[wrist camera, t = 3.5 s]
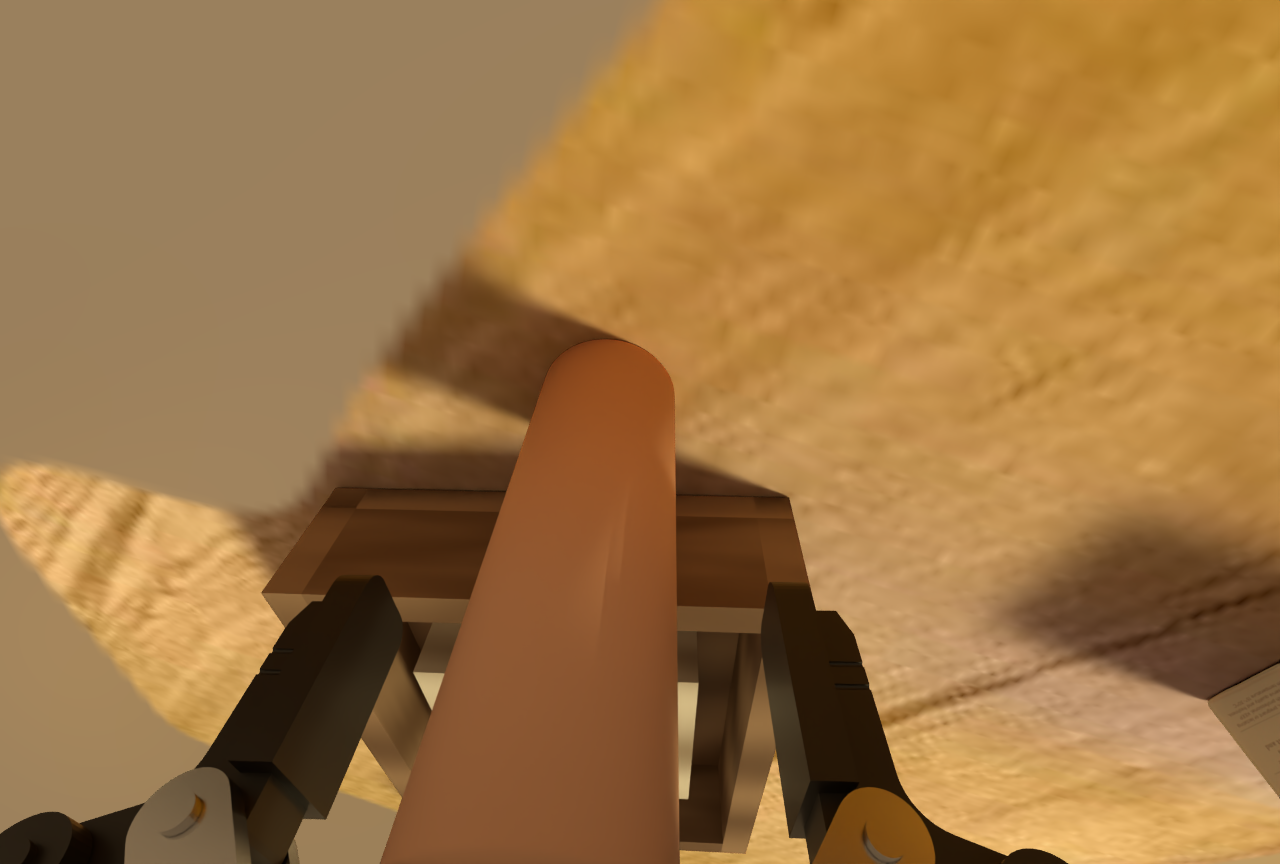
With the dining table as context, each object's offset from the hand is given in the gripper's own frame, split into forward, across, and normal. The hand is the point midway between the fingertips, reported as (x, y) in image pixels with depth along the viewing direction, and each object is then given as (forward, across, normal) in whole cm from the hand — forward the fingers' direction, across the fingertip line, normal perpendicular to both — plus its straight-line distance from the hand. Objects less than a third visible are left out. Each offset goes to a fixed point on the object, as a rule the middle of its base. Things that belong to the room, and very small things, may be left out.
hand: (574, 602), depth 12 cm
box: (+7, +2, +13) cm, 15 cm away
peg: (+7, 0, -1) cm, 7 cm away
